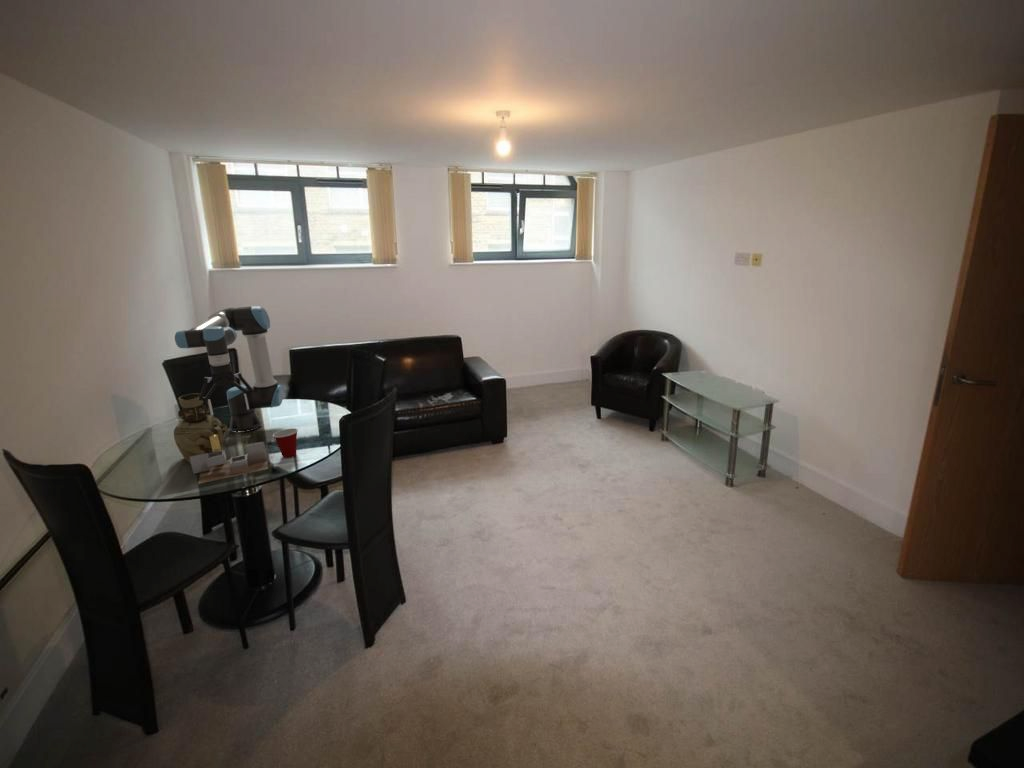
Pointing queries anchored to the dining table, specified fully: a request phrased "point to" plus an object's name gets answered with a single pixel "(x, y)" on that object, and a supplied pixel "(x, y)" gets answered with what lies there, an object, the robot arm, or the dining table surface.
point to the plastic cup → (287, 442)
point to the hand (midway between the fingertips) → (230, 411)
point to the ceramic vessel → (196, 427)
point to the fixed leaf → (249, 456)
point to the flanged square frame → (207, 461)
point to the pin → (215, 444)
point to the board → (226, 472)
